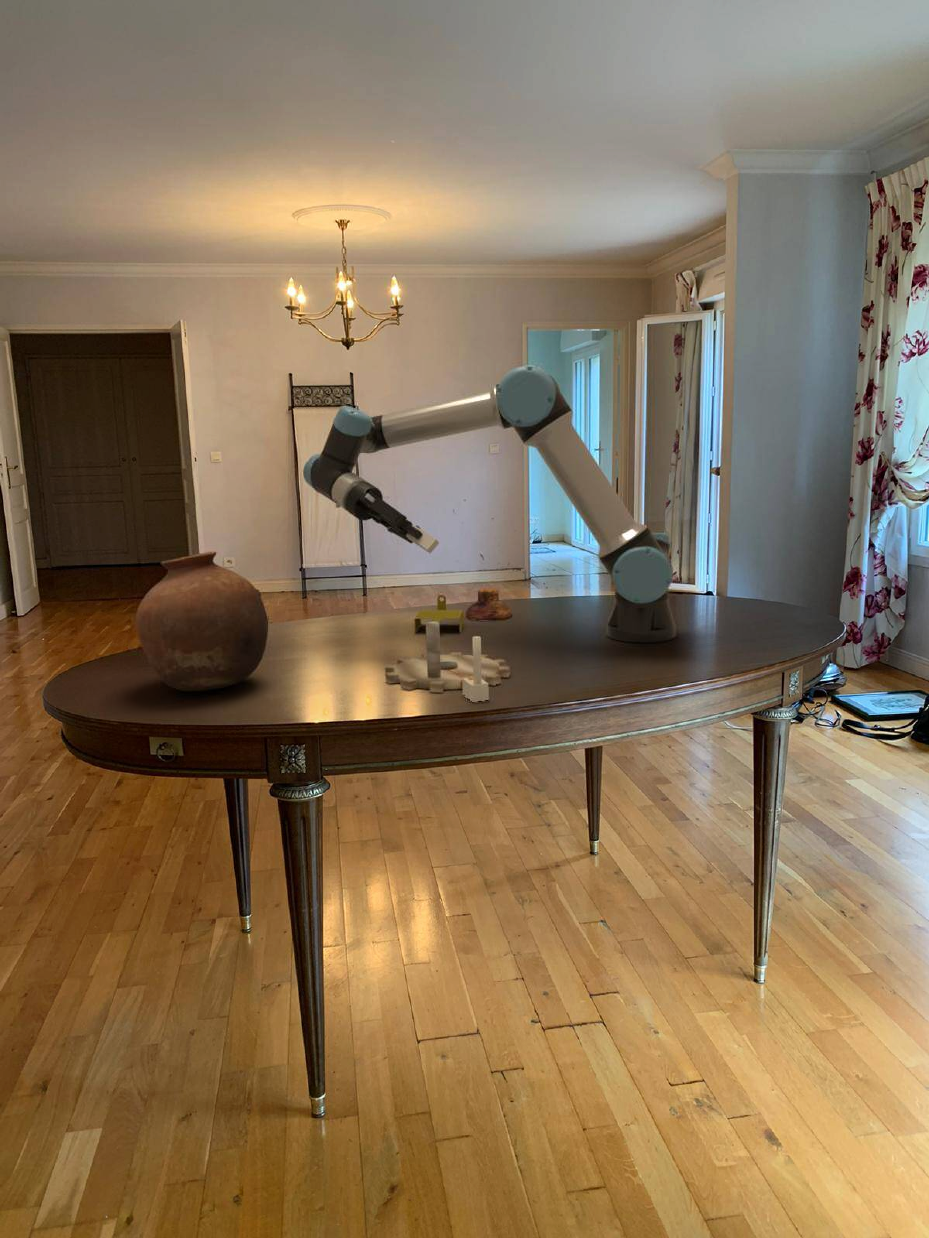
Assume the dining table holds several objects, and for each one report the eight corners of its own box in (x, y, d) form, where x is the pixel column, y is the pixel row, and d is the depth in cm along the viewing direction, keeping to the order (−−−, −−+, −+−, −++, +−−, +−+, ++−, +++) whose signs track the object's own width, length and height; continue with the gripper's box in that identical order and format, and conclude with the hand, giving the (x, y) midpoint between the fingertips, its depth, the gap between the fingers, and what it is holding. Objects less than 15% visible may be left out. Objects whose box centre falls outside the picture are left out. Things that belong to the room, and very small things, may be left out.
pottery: (277, 696, 155) (267, 556, 150) (138, 710, 149) (124, 564, 144) (267, 666, 177) (259, 542, 172) (146, 677, 170) (133, 549, 165)
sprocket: (460, 653, 182) (459, 599, 180) (534, 676, 164) (533, 615, 161) (362, 673, 169) (359, 614, 166) (431, 699, 150) (429, 634, 148)
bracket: (400, 606, 198) (409, 595, 212) (401, 640, 199) (410, 626, 214) (468, 606, 197) (473, 594, 211) (469, 640, 198) (474, 626, 213)
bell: (456, 617, 222) (455, 589, 221) (492, 611, 229) (492, 583, 228) (485, 624, 213) (484, 594, 212) (522, 617, 220) (521, 588, 219)
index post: (462, 694, 153) (461, 633, 151) (478, 693, 154) (477, 632, 152) (472, 702, 149) (470, 639, 146) (488, 700, 150) (487, 637, 147)
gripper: (360, 526, 188) (434, 576, 175) (331, 493, 177) (407, 544, 164) (383, 500, 189) (457, 548, 176) (355, 466, 178) (432, 514, 165)
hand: (433, 546), depth 170 cm, fingers closed
